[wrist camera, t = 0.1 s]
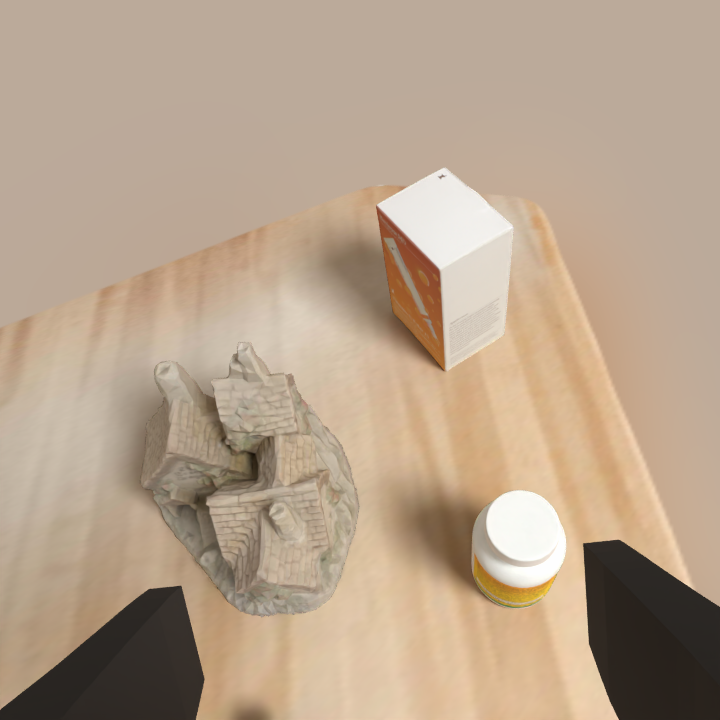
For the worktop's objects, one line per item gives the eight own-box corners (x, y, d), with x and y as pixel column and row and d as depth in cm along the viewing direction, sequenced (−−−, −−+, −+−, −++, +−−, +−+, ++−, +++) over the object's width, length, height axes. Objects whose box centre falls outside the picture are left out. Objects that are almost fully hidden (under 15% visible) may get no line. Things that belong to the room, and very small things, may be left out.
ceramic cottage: (180, 409, 52) (94, 311, 39) (371, 420, 50) (346, 319, 37) (126, 603, 45) (-2, 561, 32) (347, 628, 42) (306, 594, 29)
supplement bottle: (466, 532, 43) (466, 480, 35) (544, 526, 43) (561, 472, 35) (477, 614, 40) (479, 577, 32) (560, 608, 40) (584, 569, 32)
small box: (391, 313, 55) (372, 202, 44) (449, 279, 56) (445, 163, 45) (445, 375, 51) (439, 269, 40) (506, 336, 52) (517, 224, 41)
